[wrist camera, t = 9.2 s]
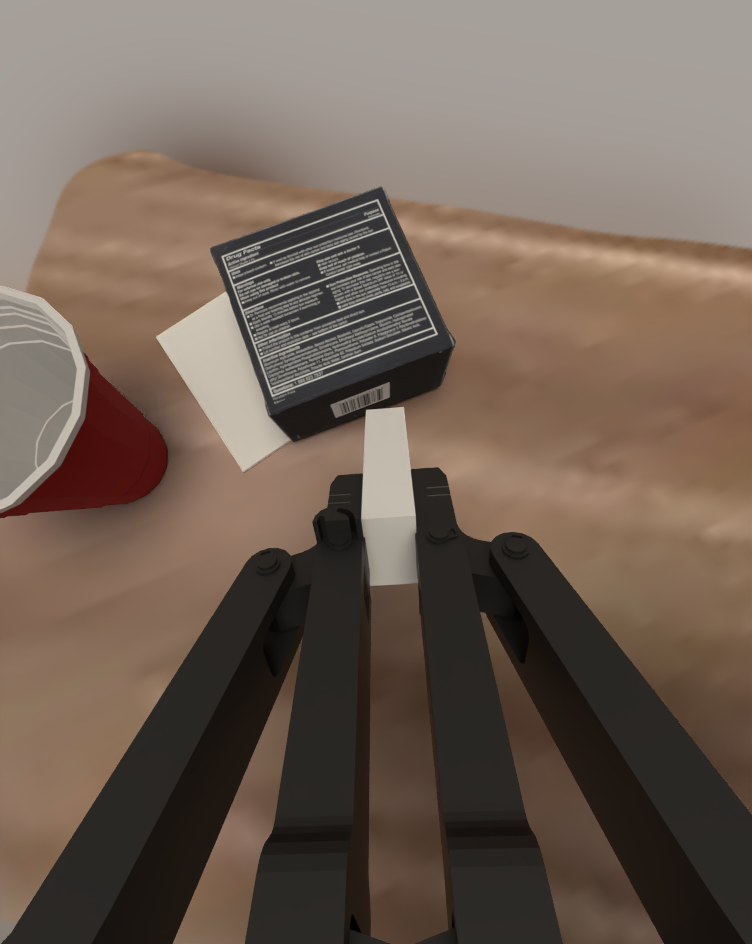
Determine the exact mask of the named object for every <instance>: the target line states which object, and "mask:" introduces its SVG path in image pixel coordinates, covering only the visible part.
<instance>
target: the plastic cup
mask: <svg viewBox="0 0 752 944" xmlns="http://www.w3.org/2000/svg"><path fill="white" fill-rule="evenodd" d="M166 466H167V448H166V445H165V443H164V440H163V438H162V435H161V434H160V433H159V430H158V429H157V428H156V427H154V426H153V425H152V424H151V423H150V422H149V421H148V420H147V419H146V418H145V417H144V416H143V415H142V413H141V412H140V411H139V410H138V409H137V408H135V407H134V406H133V405H132V404H131V403H130V402H129V401H128V400H127V399H126V398H125V397H124V396H123V395H122V394H121V393H120V392H119V391H117V390H116V389H115V388H114V387H113V386H112V385H111V384H110V383H109V382H108V381H107V380H106V379H105V378H104V377H103V376H102V375H101V374H100V373H99V372H98V369H97V368H96V367H95V366H94V365H93V364H92V363H91V362H90V361H89V359H88V356H87V355H86V354H85V353H84V352H83V350H82V347H81V344H80V341H79V338H78V335H77V333H76V331H75V330H74V328H73V327H72V325H71V324H70V323H68V322H67V321H66V320H65V319H64V318H63V317H62V316H61V315H60V314H59V313H58V312H57V311H56V310H55V309H54V308H53V307H52V306H50V305H49V304H48V303H47V302H46V301H45V300H44V299H43V298H41V297H37V296H34V295H31V294H28V293H24V292H21V291H18V290H14V289H11V288H8V287H5V286H0V518H5V517H7V516H20V515H27V514H29V513H36V512H48V511H61V510H74V509H86V508H99V507H103V506H105V505H115V504H127V503H129V502H132V501H134V500H137V499H139V498H141V497H143V496H145V495H147V494H149V492H150V491H151V490H152V489H153V488H154V487H155V486H156V485H157V484H158V483H159V482H160V480H161V478H162V476H163V473H164V471H165V469H166Z"/></svg>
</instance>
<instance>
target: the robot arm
mask: <svg viewBox="0 0 752 944" xmlns="http://www.w3.org/2000/svg"><path fill="white" fill-rule="evenodd" d="M313 527H314V531H315V536H316V540H317V544H316V545H315V546H314V547H312V548H311V549H309V550H307V551H304V552H302V553H298V554H295V555H292V556H290V554H289V553H287V552H286V551H285V550H282V549H279V548H268V549H265V550H262V551H259V552H258V553H256V554H254V555H253V556H252V557H251V558H250V559H249V560H248V561H247V562H246V564H245V565H244V567H243V568H242V570H241V572H240V573H239V575H238V576H237V578H236V580H235V581H234V583H233V584H232V586H231V587H230V589H229V591H228V592H227V594H226V595H225V597H224V598H223V600H222V602H221V603H220V605H219V606H218V608H217V609H216V611H215V613H214V614H213V616H212V617H211V619H210V620H209V622H208V624H207V625H206V627H205V628H204V630H203V631H202V633H201V635H200V636H199V638H198V639H197V641H196V643H195V644H194V646H193V647H192V649H191V650H190V652H189V654H188V655H187V657H186V658H185V660H184V661H183V663H182V665H181V666H180V668H179V669H178V671H177V672H176V674H175V676H174V677H173V679H172V680H171V682H170V683H169V685H168V687H167V688H166V690H165V691H164V693H163V695H162V696H161V698H160V699H159V701H158V702H157V704H156V706H155V707H154V709H153V710H152V712H151V713H150V715H149V717H148V718H147V720H146V721H145V723H144V724H143V726H142V728H141V729H140V731H139V732H138V734H137V735H136V737H135V739H134V740H133V742H132V743H131V745H130V746H129V748H128V750H127V751H126V753H125V754H124V756H123V758H122V759H121V761H120V762H119V764H118V765H117V767H116V769H115V770H114V772H113V773H112V775H111V776H110V778H109V780H108V781H107V783H106V784H105V786H104V787H103V789H102V791H101V792H100V794H99V795H98V797H97V798H96V800H95V802H94V803H93V805H92V806H91V808H90V809H89V811H88V813H87V814H86V816H85V817H84V819H83V821H82V822H81V824H80V825H79V827H78V828H77V830H76V832H75V833H74V835H73V836H72V838H71V839H70V841H69V843H68V844H67V846H66V847H65V849H64V850H63V852H62V854H61V855H60V857H59V858H58V860H57V861H56V863H55V865H54V866H53V868H52V869H51V871H50V872H49V874H48V876H47V877H46V879H45V880H44V882H43V884H42V885H41V887H40V888H39V890H38V891H37V893H36V895H35V896H34V898H33V899H32V901H31V902H30V904H29V906H28V907H27V909H26V910H25V912H24V913H23V915H22V917H21V918H20V920H19V921H18V923H17V924H16V926H15V928H14V929H13V931H12V933H11V934H10V935H9V936H8V937H7V938H6V939H5V940H4V941H3V942H2V943H1V944H173V941H174V939H175V937H176V934H177V932H178V930H179V927H180V925H181V922H182V920H183V918H184V915H185V913H186V911H187V908H188V906H189V904H190V901H191V899H192V897H193V894H194V892H195V889H196V887H197V885H198V882H199V880H200V878H201V875H202V873H203V871H204V868H205V866H206V863H207V861H208V859H209V856H210V854H211V852H212V849H213V847H214V845H215V842H216V840H217V838H218V835H219V833H220V830H221V828H222V826H223V823H224V821H225V819H226V816H227V814H228V812H229V809H230V807H231V804H232V802H233V800H234V797H235V795H236V793H237V790H238V788H239V786H240V783H241V781H242V779H243V776H244V774H245V771H246V769H247V767H248V764H249V762H250V760H251V757H252V755H253V753H254V750H255V748H256V745H257V743H258V741H259V738H260V736H261V734H262V731H263V729H264V727H265V724H266V722H267V720H268V717H269V715H270V712H271V710H272V708H273V705H274V703H275V701H276V698H277V696H278V694H279V691H280V689H281V686H282V684H283V682H284V679H285V677H286V675H287V672H288V670H289V668H290V665H291V663H292V661H293V658H294V656H295V653H296V651H297V649H298V646H299V644H300V642H301V639H302V637H303V640H302V647H301V653H300V660H299V666H298V673H297V679H296V686H295V692H294V699H293V705H292V712H291V719H290V725H289V732H288V738H287V745H286V751H285V758H284V764H283V771H282V778H281V784H280V791H279V797H278V804H277V810H276V817H275V822H274V827H273V830H272V833H271V835H270V836H269V838H268V839H267V841H266V842H265V844H264V846H263V849H262V852H261V855H260V860H259V864H258V869H257V874H256V880H255V886H254V892H253V898H252V904H251V910H250V916H249V922H248V928H247V934H246V940H245V944H389V943H386V942H383V941H381V940H378V939H375V938H373V937H371V916H370V894H369V876H368V857H369V759H370V660H371V596H370V586H378V585H395V584H413V583H418V589H419V610H420V615H421V626H422V636H423V647H424V658H425V669H426V680H427V691H428V701H429V712H430V723H431V734H432V745H433V756H434V766H435V777H436V788H437V799H438V810H439V821H440V831H441V842H442V853H443V864H444V876H445V889H446V903H447V916H448V927H449V930H448V931H445V932H443V933H440V934H438V935H436V936H433V937H431V938H428V939H426V940H423V941H421V942H418V943H416V944H563V943H562V938H561V934H560V930H559V926H558V921H557V917H556V913H555V909H554V904H553V900H552V896H551V892H550V887H549V883H548V879H547V875H546V870H545V866H544V862H543V859H542V855H541V851H540V848H539V845H538V842H537V839H536V836H535V834H534V833H533V831H532V830H531V828H530V827H529V824H528V821H527V818H526V814H525V810H524V806H523V801H522V797H521V792H520V788H519V783H518V779H517V775H516V770H515V766H514V761H513V757H512V752H511V748H510V743H509V739H508V735H507V730H506V726H505V721H504V717H503V712H502V708H501V703H500V699H499V694H498V690H497V686H496V681H495V677H494V672H493V668H492V663H491V659H490V654H489V650H488V645H487V641H486V637H485V632H484V628H483V623H482V619H481V614H480V612H484V613H486V614H487V617H488V619H489V621H490V623H491V625H492V627H493V629H494V630H495V632H496V634H497V636H498V638H499V640H500V641H501V643H502V645H503V647H504V649H505V651H506V653H507V654H508V656H509V658H510V660H511V662H512V664H513V665H514V667H515V669H516V671H517V673H518V675H519V677H520V678H521V680H522V682H523V684H524V686H525V688H526V690H527V691H528V693H529V695H530V697H531V699H532V701H533V702H534V704H535V706H536V708H537V710H538V712H539V714H540V715H541V717H542V719H543V721H544V723H545V725H546V726H547V728H548V730H549V732H550V734H551V736H552V738H553V739H554V741H555V743H556V745H557V747H558V749H559V751H560V752H561V754H562V756H563V758H564V760H565V762H566V763H567V765H568V767H569V769H570V771H571V773H572V775H573V776H574V778H575V780H576V782H577V784H578V786H579V788H580V789H581V791H582V793H583V795H584V797H585V799H586V800H587V802H588V804H589V806H590V808H591V810H592V812H593V813H594V815H595V817H596V819H597V821H598V823H599V824H600V826H601V828H602V830H603V832H604V834H605V836H606V837H607V839H608V841H609V843H610V845H611V847H612V849H613V850H614V852H615V854H616V856H617V858H618V860H619V861H620V863H621V865H622V867H623V869H624V871H625V873H626V874H627V876H628V878H629V880H630V882H631V884H632V886H633V887H634V889H635V891H636V893H637V895H638V897H639V898H640V900H641V902H642V904H643V906H644V908H645V910H646V911H647V913H648V915H649V917H650V919H651V921H652V922H653V924H654V926H655V928H656V930H657V932H658V934H659V935H660V937H661V939H662V941H663V943H664V944H752V815H751V814H750V812H749V811H748V810H747V808H746V807H745V806H744V805H743V803H742V802H741V801H740V800H739V798H738V797H737V796H736V795H735V793H734V792H733V791H732V789H731V788H730V787H729V786H728V784H727V783H726V782H725V781H724V779H723V778H722V777H721V775H720V774H719V773H718V772H717V770H716V769H715V768H714V767H713V765H712V764H711V763H710V761H709V760H708V759H707V758H706V756H705V755H704V754H703V753H702V751H701V750H700V749H699V747H698V746H697V745H696V744H695V742H694V741H693V740H692V739H691V737H690V736H689V735H688V733H687V732H686V731H685V730H684V728H683V727H682V726H681V725H680V723H679V722H678V721H677V719H676V718H675V717H674V716H673V714H672V713H671V712H670V711H669V709H668V708H667V707H666V705H665V704H664V703H663V702H662V700H661V699H660V698H659V697H658V695H657V694H656V693H655V692H654V690H653V689H652V688H651V686H650V685H649V684H648V683H647V681H646V680H645V679H644V678H643V676H642V675H641V674H640V672H639V671H638V670H637V669H636V667H635V666H634V665H633V664H632V662H631V661H630V660H629V658H628V657H627V656H626V655H625V653H624V652H623V651H622V650H621V648H620V647H619V646H618V644H617V643H616V642H615V641H614V639H613V638H612V637H611V636H610V634H609V633H608V632H607V630H606V629H605V628H604V627H603V625H602V624H601V623H600V622H599V620H598V619H597V618H596V616H595V615H594V614H593V613H592V611H591V610H590V609H589V608H588V606H587V605H586V604H585V602H584V601H583V600H582V599H581V597H580V596H579V595H578V594H577V592H576V591H575V590H574V589H573V587H572V586H571V585H570V583H569V582H568V581H567V580H566V578H565V577H564V576H563V575H562V573H561V572H560V571H559V569H558V568H557V567H556V566H555V564H554V563H553V562H552V561H551V559H550V558H549V557H548V555H547V554H546V553H545V552H544V550H543V549H542V548H541V547H540V545H539V544H538V543H537V542H536V541H535V540H534V539H532V538H531V537H529V536H527V535H525V534H522V533H516V532H509V533H503V534H500V535H498V536H496V537H495V538H494V539H493V540H492V542H487V541H481V540H477V539H473V538H471V537H469V536H467V535H466V534H464V533H463V532H462V531H461V530H460V528H458V525H457V522H456V518H455V513H454V509H453V504H452V500H451V495H450V491H449V487H448V481H447V477H446V475H445V474H444V473H443V472H442V471H441V470H440V469H439V468H438V467H436V468H421V469H411V468H410V459H409V450H408V441H407V432H406V422H405V413H404V407H397V408H385V409H372V410H366V421H365V443H364V466H363V474H349V475H338V476H337V477H336V478H335V480H334V481H333V482H332V484H331V486H330V493H329V500H328V507H327V508H326V509H324V510H321V511H320V512H319V513H318V514H317V515H316V516H315V518H314V520H313Z"/></svg>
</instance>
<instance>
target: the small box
mask: <svg viewBox="0 0 752 944" xmlns="http://www.w3.org/2000/svg"><path fill="white" fill-rule="evenodd" d="M210 250H211V254H212V257H213V259H214V261H215V263H216V265H217V267H218V270H219V273H220V275H221V277H222V280H223V283H224V286H225V289H226V292H227V295H228V296H229V299H230V304H231V306H232V310H233V312H234V315H235V318H236V321H237V323H238V326H239V329H240V332H241V335H242V338H243V340H244V342H245V346H246V349H247V351H248V354H249V357H250V360H251V363H252V366H253V369H254V372H255V375H256V377H257V379H258V382H259V385H260V388H261V390H262V393H263V396H264V401H265V407H266V410H267V413H268V416H269V417H270V418H271V419H272V421H273V422H274V423H275V424H276V425H277V426H278V427H279V428H280V429H281V430H282V431H283V432H284V433H285V434H286V436H287V437H288V438H289V439H290V440H291V441H293V442H295V441H297V440H300V439H303V438H305V437H307V436H310V435H313V434H315V433H318V432H320V431H323V430H325V429H328V428H331V427H333V426H336V425H339V424H341V423H344V422H346V421H349V420H352V419H354V418H357V417H359V416H362V415H365V414H366V410H372V409H380V408H383V407H386V406H388V405H391V404H394V403H396V402H399V401H401V400H404V399H407V398H409V397H412V396H415V395H417V394H420V393H422V392H425V391H428V390H430V389H433V388H436V387H438V386H440V385H441V384H442V381H443V379H444V377H445V374H446V369H447V366H448V363H449V360H450V356H451V355H452V351H453V349H454V347H455V340H454V338H453V336H452V335H451V333H450V332H449V331H448V329H447V328H446V326H445V323H444V321H443V319H442V317H441V315H440V313H439V310H438V308H437V306H436V303H435V301H434V299H433V297H432V295H431V292H430V290H429V288H428V285H427V283H426V281H425V279H424V277H423V274H422V272H421V270H420V268H419V266H418V264H417V262H416V260H415V257H414V255H413V253H412V251H411V248H410V246H409V244H408V242H407V240H406V237H405V235H404V233H403V231H402V229H401V226H400V225H399V222H398V220H397V218H396V216H395V213H394V211H393V209H392V207H391V204H390V201H389V199H388V196H387V193H386V191H385V189H384V188H383V187H378V188H375V189H372V190H369V191H367V192H364V193H361V194H358V195H356V196H353V197H350V198H348V199H345V200H342V201H339V202H337V203H333V204H331V205H328V206H325V207H323V208H320V209H317V210H314V211H311V212H309V213H306V214H303V215H300V216H298V217H295V218H292V219H289V220H286V221H283V222H281V223H278V224H275V225H273V226H270V227H267V228H264V229H261V230H258V231H256V232H253V233H250V234H248V235H244V236H242V237H239V238H236V239H233V240H230V241H228V242H225V243H222V244H219V245H216V246H213V247H211V248H210Z"/></svg>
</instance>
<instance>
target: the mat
mask: <svg viewBox="0 0 752 944" xmlns="http://www.w3.org/2000/svg"><path fill="white" fill-rule="evenodd" d="M156 338H157V340H158V341H159V343H160V344H161V346H162V347H163V349H164V350H165V352H166V354H167V355H168V357H169V358H170V360H171V361H172V363H173V364H174V366H175V367H176V369H177V371H178V372H179V374H180V375H181V377H182V378H183V380H184V381H185V383H186V384H187V386H188V388H189V389H190V391H191V392H192V394H193V395H194V397H195V398H196V400H197V401H198V403H199V405H200V406H201V408H202V409H203V411H204V412H205V414H206V415H207V417H208V418H209V420H210V422H211V423H212V425H213V426H214V428H215V429H216V431H217V432H218V434H219V435H220V437H221V439H222V440H223V442H224V443H225V445H226V446H227V448H228V449H229V451H230V453H231V454H232V456H233V457H234V459H235V460H236V462H237V463H238V465H239V466H240V468H241V470H242V471H243V472H246V471H247V470H249V469H250V468H252V467H253V466H255V465H256V464H258V463H259V462H261V461H262V460H264V459H265V458H267V457H268V456H270V455H271V454H273V453H274V452H275V451H277V450H278V449H280V448H281V447H283V446H284V445H286V444H287V443H289V442H290V441H291V440H290V439H289V438H288V437H287V436H286V434H285V433H284V432H283V431H282V430H281V429H280V428H279V427H278V426H277V425H276V424H275V423H274V422H273V421H272V419H271V418H270V417H269V416H268V413H267V410H266V407H265V401H264V396H263V393H262V390H261V388H260V385H259V382H258V379H257V377H256V375H255V372H254V369H253V366H252V363H251V360H250V357H249V354H248V351H247V349H246V346H245V342H244V340H243V338H242V335H241V332H240V329H239V326H238V323H237V321H236V318H235V315H234V312H233V310H232V306H231V304H230V299H229V296H228V295H227V292H225V293H223V294H221V295H220V296H218V297H217V298H215V299H214V300H212V301H211V302H209V303H208V304H206V305H204V306H203V307H201V308H200V309H198V310H197V311H195V312H194V313H192V314H191V315H189V316H187V317H186V318H184V319H183V320H181V321H180V322H178V323H177V324H175V325H173V326H172V327H170V328H169V329H167V330H166V331H164V332H163V333H161V334H160V335H158V336H156Z"/></svg>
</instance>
